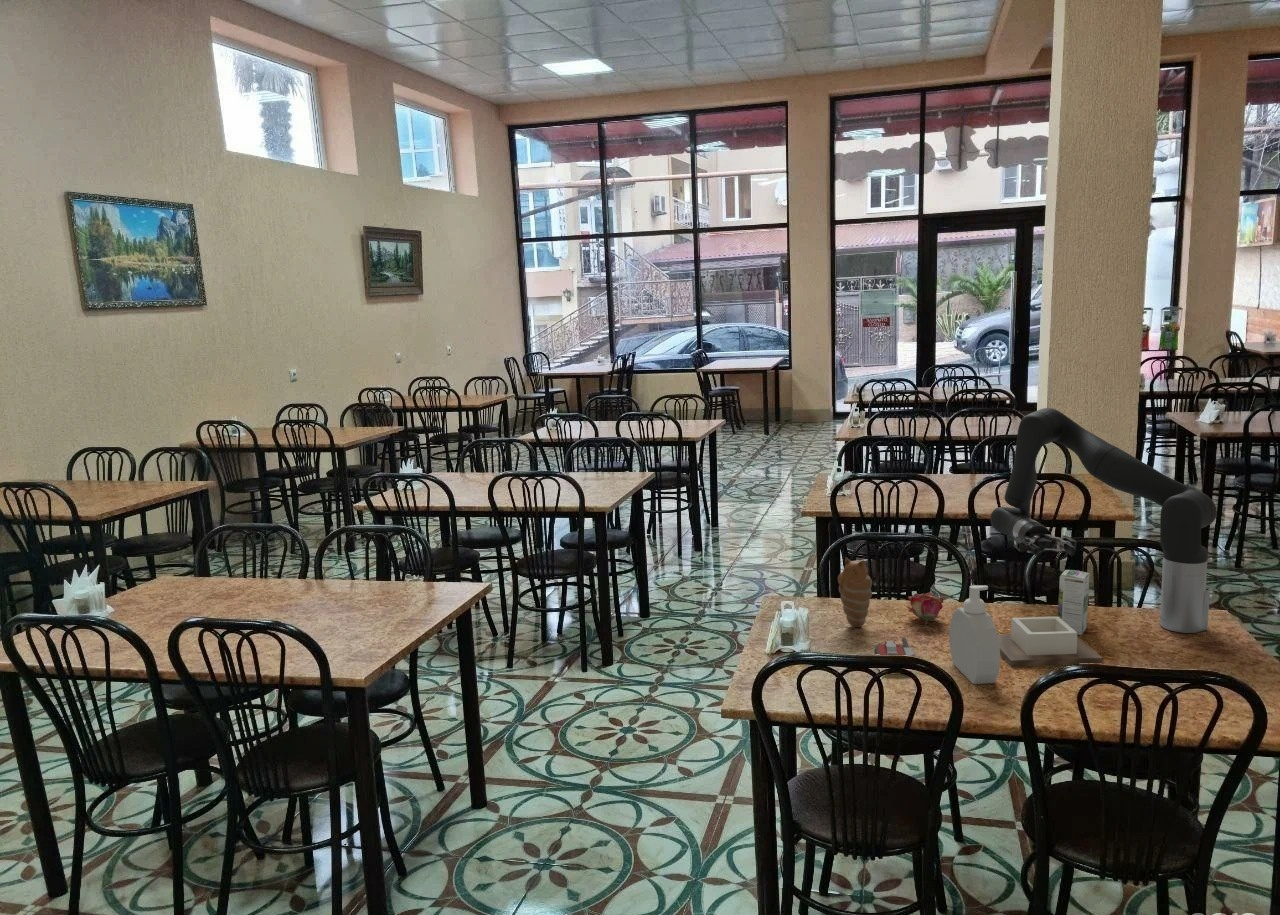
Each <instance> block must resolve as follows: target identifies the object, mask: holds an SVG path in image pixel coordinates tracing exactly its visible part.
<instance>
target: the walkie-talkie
mask: <svg viewBox="0 0 1280 915" xmlns="http://www.w3.org/2000/svg"><path fill="white" fill-rule="evenodd" d="M901 641H902V644H899V643H896V642H895V640H884V643H878V644H876V645H874V649H873V650H874V652H873V653H874V655H875V654H880V655H908V656H914V657H915V652H914V648H913V647H910V646H909V643H908V640H907V638H906V637H902V638H901ZM878 672H880V670H879V669H878Z"/></svg>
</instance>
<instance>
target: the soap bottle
mask: <svg viewBox="0 0 1280 915" xmlns="http://www.w3.org/2000/svg"><path fill="white" fill-rule="evenodd" d="M986 590H989V586H988V585H985V584H984V585H981V584H979V585H972V584H971V585H970V586H969V597H968V598H966V599H965V600H964V602H963V606H962V607H957V608H956V609H955V610H954V612H953V613H952V615H951V619H950V621H949V634H948V638H949V639H948V640H949V649H950V656H951V661H952V664H953V666H954V667H955V668H956V669H957V670H958V671H959V672H961V673H962V675H963V676H964V677H965V678H967V680H968V681H969V682H970V683H972V684H973V685H983V684H984V685H986V684H995V683H996V681H997V679H998V677H999V674H1000V668H1001V667H1000V666H1001V664H1000V663H1001V655H1000V645H999V640H998V635H997V634H998V631H997V626H996V624H995V623H994V620H993V617H992V616H991V614H989V613H988V611H986V603H985V602H984V600H983V599H982V598H981V597H980V593H981V592H980V591H986Z"/></svg>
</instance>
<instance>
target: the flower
mask: <svg viewBox="0 0 1280 915" xmlns="http://www.w3.org/2000/svg"><path fill="white" fill-rule="evenodd" d="M907 598H908V601H909V604H910V605H911V606H910V605H906V608H907V609H908V612H910V613H912V614H913V615H915V616H916V617H917V618H918V619H920V620H924V625H925V626H928V625H929V622H932V621H937V619H939V618H940V616H939V613H940V612H941V610H942V609H943V607H944V606H943V603H944V597H943V596H940V597H937V596H935V595H934V594H933V593H932V592H931V591H929V592H927V593H924V592H923V593H919V594H918V593H915V594H913V595H911V596H910V595H908V596H907Z"/></svg>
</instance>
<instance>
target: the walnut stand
mask: <svg viewBox="0 0 1280 915" xmlns="http://www.w3.org/2000/svg"><path fill="white" fill-rule="evenodd" d="M997 635H998V640H999V645H1000V657H1002V659H1004V661H1005V662H1006V663H1007V665H1009V667H1013V668H1015V667H1017V668H1018V667H1020V668H1021V667H1048V666H1049V667H1051V666H1073V665H1072V664H1079V663H1102V664H1103V657H1102V656H1101V655H1100V654H1099V653H1098V652H1096V650H1095V649H1093V648H1092V647H1091V646H1089V644H1087V643H1086V642H1085V641H1084V640H1082V639H1081V637H1079V635H1077V654H1059V655H1027V654H1026V653H1025V652H1024V651H1023V650H1022V649H1021V648H1020V647H1019V646H1018V645H1017V644H1016V643H1015V642H1014V641H1013V640H1012V639H1011V633H1004V634H1003V633H1000V634H998V633H997Z"/></svg>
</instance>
